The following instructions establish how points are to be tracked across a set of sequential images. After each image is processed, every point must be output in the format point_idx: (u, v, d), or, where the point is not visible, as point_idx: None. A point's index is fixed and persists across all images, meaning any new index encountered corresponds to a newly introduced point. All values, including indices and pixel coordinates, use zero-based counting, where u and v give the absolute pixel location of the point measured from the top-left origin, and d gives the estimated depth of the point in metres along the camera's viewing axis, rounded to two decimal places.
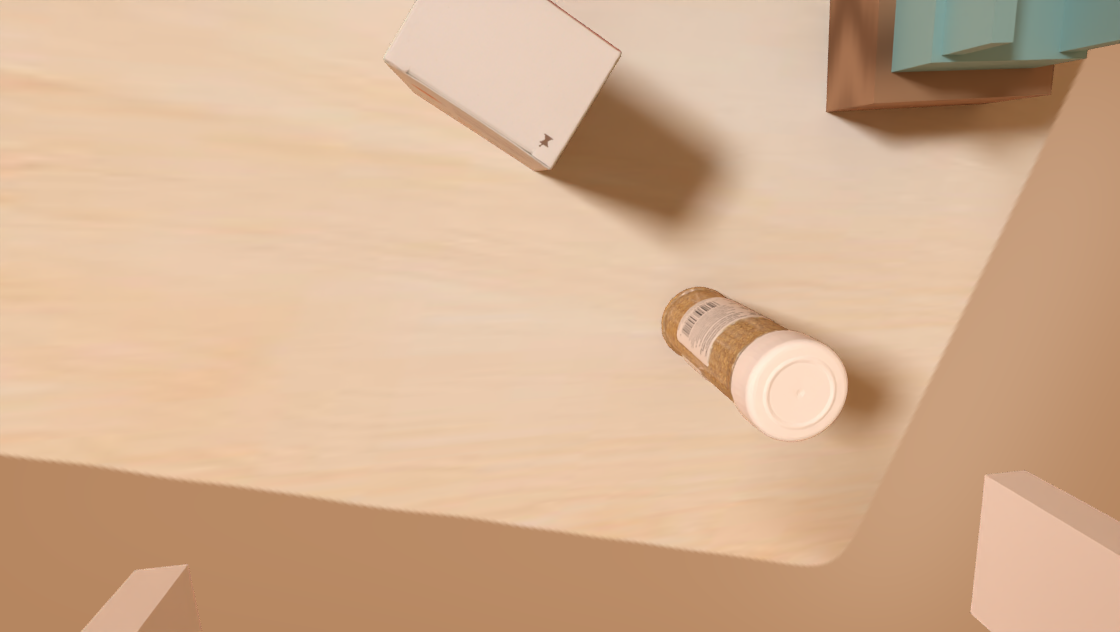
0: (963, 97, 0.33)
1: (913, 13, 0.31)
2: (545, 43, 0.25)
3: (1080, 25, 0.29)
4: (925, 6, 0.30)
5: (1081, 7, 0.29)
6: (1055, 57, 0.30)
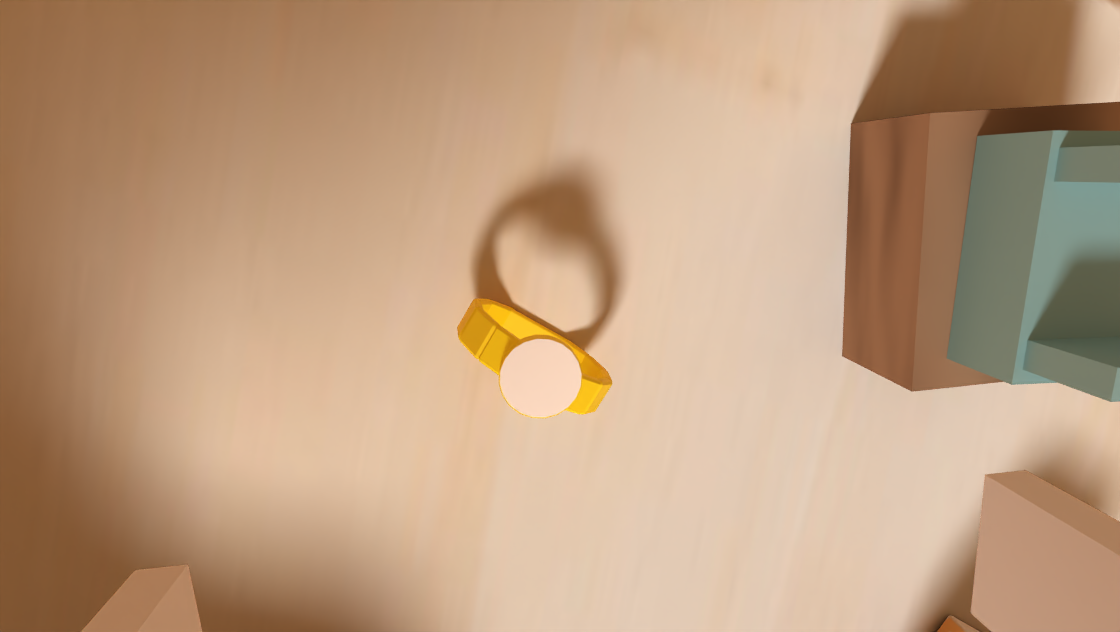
0: None
1: None
2: None
3: None
4: None
5: None
6: None
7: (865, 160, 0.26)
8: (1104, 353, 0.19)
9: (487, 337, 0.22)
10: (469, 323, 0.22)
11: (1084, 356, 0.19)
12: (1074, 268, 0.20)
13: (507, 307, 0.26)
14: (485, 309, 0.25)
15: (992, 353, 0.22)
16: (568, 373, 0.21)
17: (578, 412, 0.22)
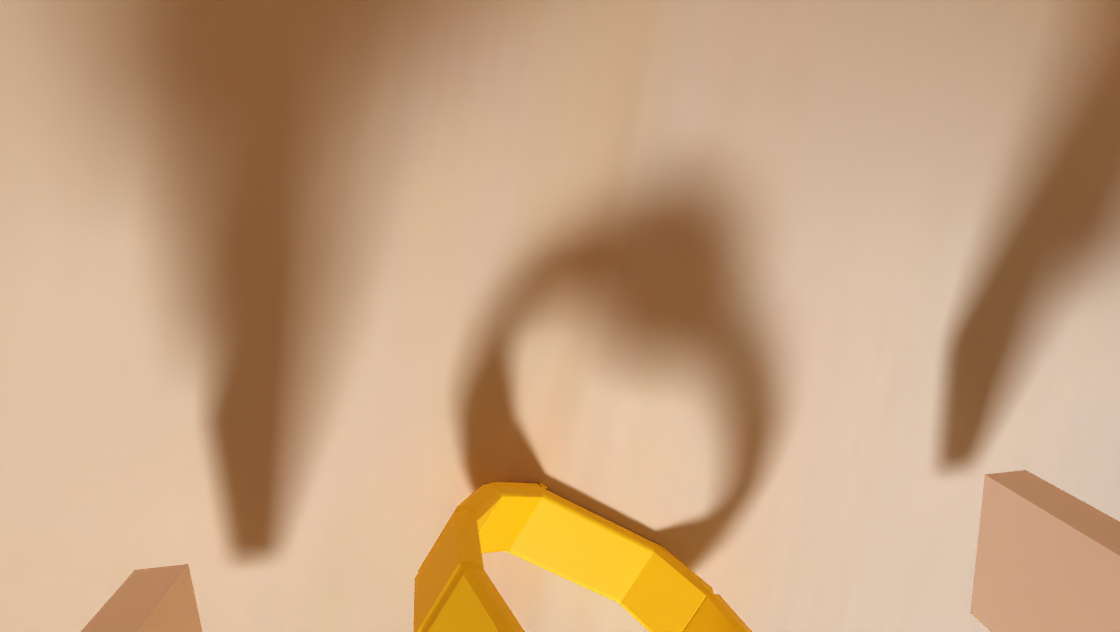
0: None
1: None
2: None
3: None
4: None
5: None
6: None
7: None
8: None
9: None
10: (443, 609, 0.08)
11: None
12: None
13: (534, 489, 0.12)
14: (485, 516, 0.10)
15: None
16: None
17: None
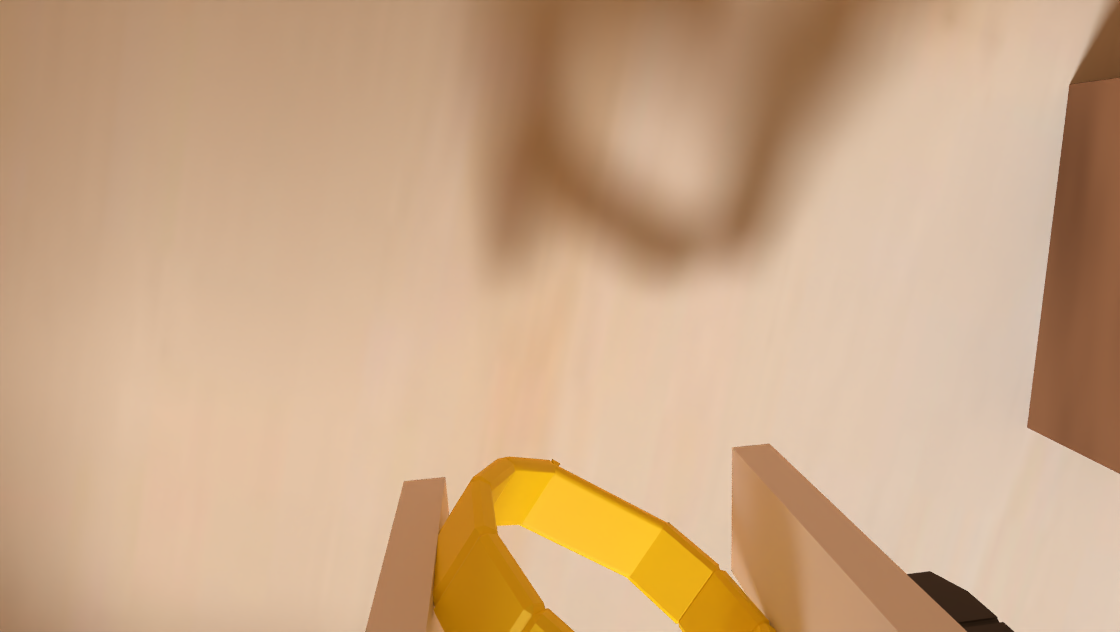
0: None
1: None
2: None
3: None
4: None
5: None
6: None
7: (1098, 139, 0.17)
8: None
9: None
10: (459, 571, 0.09)
11: None
12: None
13: (546, 465, 0.12)
14: (499, 489, 0.11)
15: None
16: None
17: None
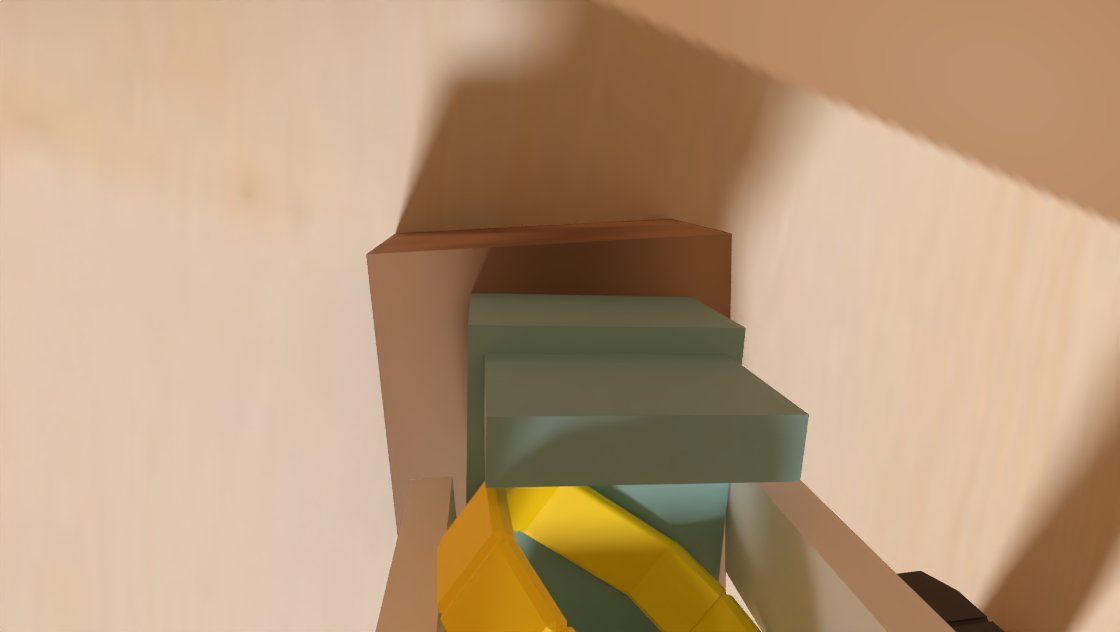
0: None
1: None
2: None
3: None
4: None
5: None
6: None
7: None
8: None
9: None
10: (472, 578, 0.08)
11: None
12: None
13: None
14: (511, 492, 0.10)
15: None
16: None
17: None
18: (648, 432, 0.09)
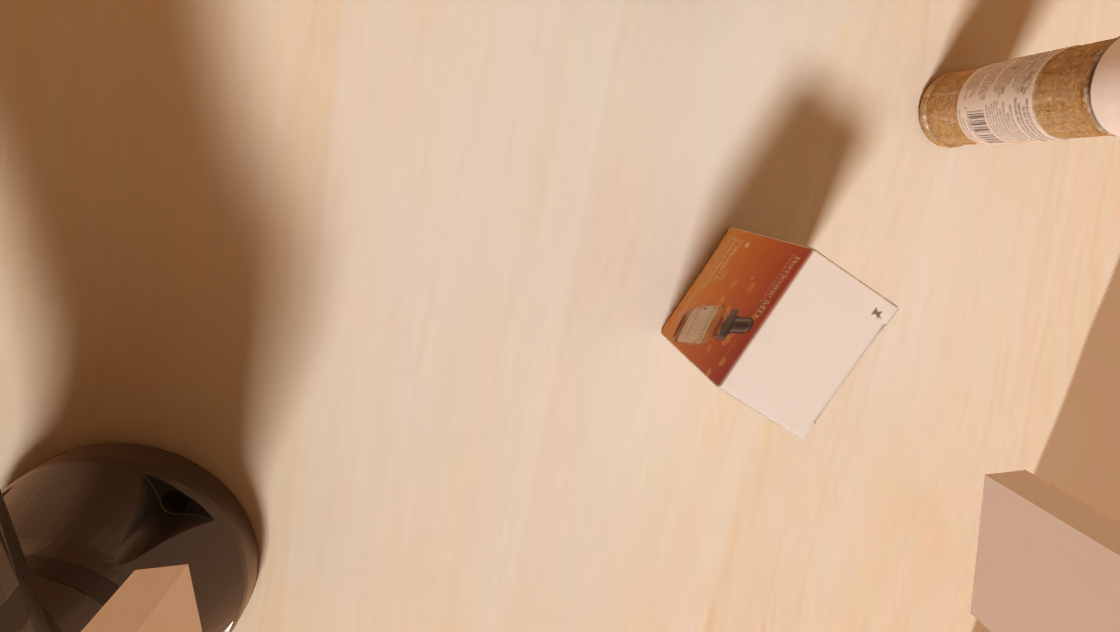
0: None
1: None
2: (804, 316, 0.30)
3: None
4: None
5: None
6: None
7: None
8: None
9: None
10: None
11: None
12: None
13: None
14: None
15: None
16: None
17: None
18: None
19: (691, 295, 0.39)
